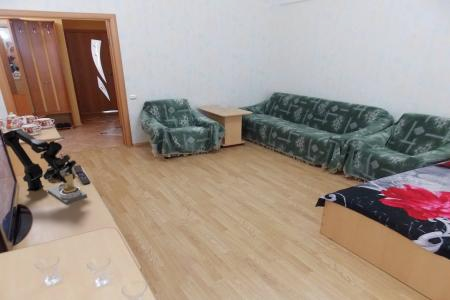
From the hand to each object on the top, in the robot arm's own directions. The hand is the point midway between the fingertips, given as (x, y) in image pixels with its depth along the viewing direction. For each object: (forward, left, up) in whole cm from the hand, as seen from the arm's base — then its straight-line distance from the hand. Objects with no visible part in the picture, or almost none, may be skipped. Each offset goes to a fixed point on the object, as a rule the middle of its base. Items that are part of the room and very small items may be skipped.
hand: (70, 180), depth 162 cm
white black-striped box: (-23, +28, -11) cm, 38 cm away
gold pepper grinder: (-1, 0, -7) cm, 7 cm away
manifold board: (-5, +3, -11) cm, 12 cm away
